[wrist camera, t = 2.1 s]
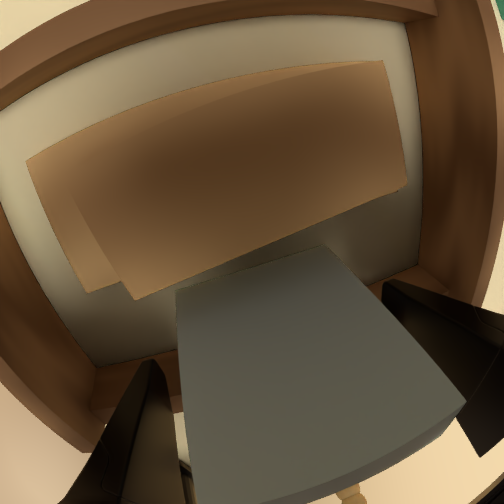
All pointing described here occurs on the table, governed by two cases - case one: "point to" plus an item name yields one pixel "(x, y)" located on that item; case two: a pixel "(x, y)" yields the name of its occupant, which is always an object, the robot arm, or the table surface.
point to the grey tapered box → (300, 383)
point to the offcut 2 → (240, 174)
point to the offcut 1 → (107, 136)
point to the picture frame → (423, 275)
